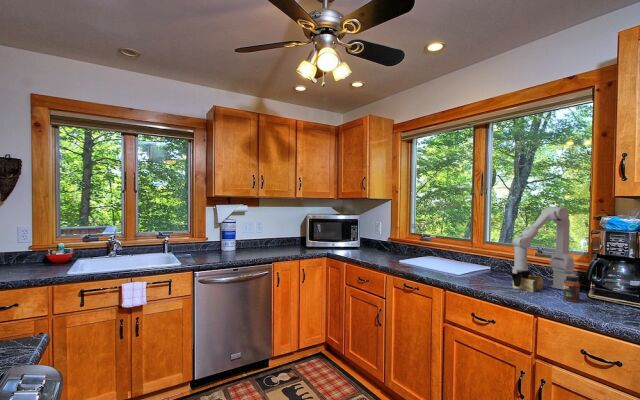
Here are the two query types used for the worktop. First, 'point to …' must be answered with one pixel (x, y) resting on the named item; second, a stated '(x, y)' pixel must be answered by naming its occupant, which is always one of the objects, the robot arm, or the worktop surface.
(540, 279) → the bracket
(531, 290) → the beige block
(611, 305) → the worktop surface
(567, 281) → the supplement bottle
